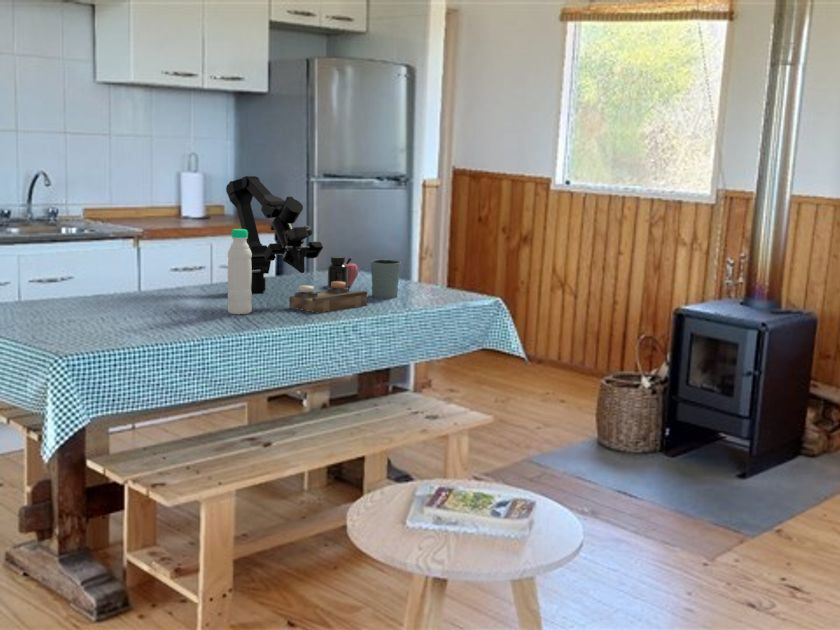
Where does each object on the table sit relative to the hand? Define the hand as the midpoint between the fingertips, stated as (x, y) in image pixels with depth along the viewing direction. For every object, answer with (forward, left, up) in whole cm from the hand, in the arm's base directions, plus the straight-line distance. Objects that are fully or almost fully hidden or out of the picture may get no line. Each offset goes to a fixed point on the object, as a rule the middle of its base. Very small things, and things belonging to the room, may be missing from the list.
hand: (303, 272), depth 306 cm
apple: (+14, +42, -11) cm, 46 cm away
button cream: (+1, -2, -10) cm, 10 cm away
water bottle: (-18, -13, -11) cm, 25 cm away
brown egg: (+11, +8, -10) cm, 17 cm away
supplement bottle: (+11, +30, -11) cm, 34 cm away
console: (+8, +1, -11) cm, 14 cm away
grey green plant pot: (+27, +22, -11) cm, 37 cm away
